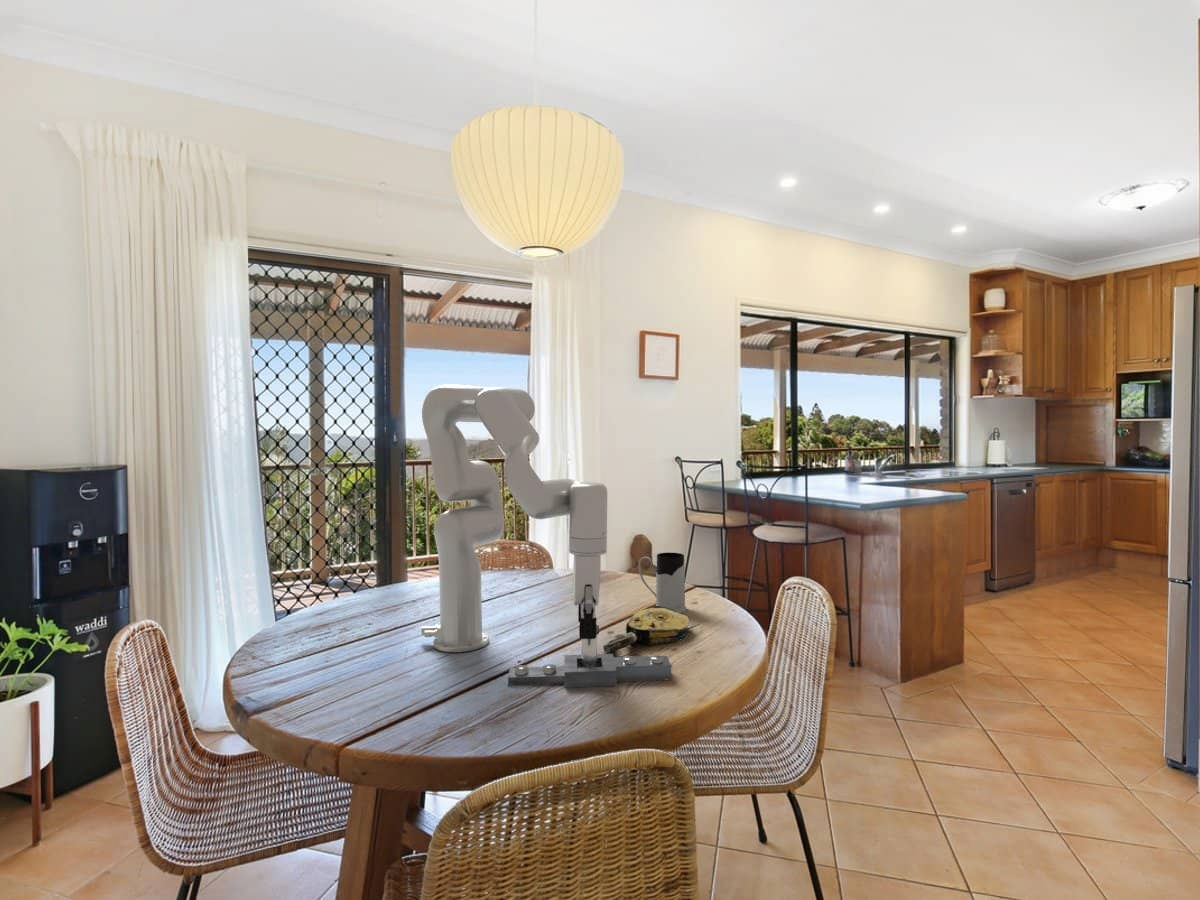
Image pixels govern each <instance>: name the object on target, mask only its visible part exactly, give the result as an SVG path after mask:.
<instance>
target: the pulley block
mask: <svg viewBox="0 0 1200 900" xmlns="http://www.w3.org/2000/svg"><path fill="white" fill-rule="evenodd" d="M690 623H691V622H690V619H689V617H688V616H687V615H685V614H682V613H677V611H675V610H672V609H669V608H666V607H662V606H656V605H654V606H653V607H652V608H644V609H641V610H639V611H637V612H636V611H635V612H634V613H633V615H632V616H631V617H630V618H629V620H628V621H627V622H626V625H625V634H623V635H621V636H619V637H616V638H614V639H611V640H609V641H608V642H606V643H604V644H603V652H604V653H605V652H606V653H607V654H611V653H612V652H613V653H614V652H615V651H618V650H622V649H625V648H627V647H629V646H633V647H646V646H647V647H648V646H653V645H660V644H661V645H663V643H664V644H670V642H672V643H677V641H678V642H679V641H681V640H680V639H683V638H685V637H686V636H687V637H688V636H689V631H688V630H691V629H693V628H695V627H697V626H699V625H701V623H698V624H695V625H692V626H690ZM688 626H690V627H688ZM687 637H686V638H687ZM686 638H685V639H686ZM683 640H684V639H683Z"/></svg>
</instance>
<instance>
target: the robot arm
mask: <svg viewBox="0 0 1200 900" xmlns="http://www.w3.org/2000/svg"><path fill="white" fill-rule="evenodd" d="M535 408H536V407H535V403H534V400H533V398H532V396H531V395H530V394H529V393H528V392H526V391H525V390H523V389H520V388H515V387H514V388H513V387H511V388H510V387H503V386H501V387H500V386H493V387H491V386H489V387H488V386H486V387H485V386H476V385H475V386H474V385H465V384H464V385H463V384H443V385H442V384H441V385H439V386H435V387H434V388H432V389H431V390H430V391H429V392H428V393H427V394H426V397H425V398H424V400H423V404H422V408H421V409H422V410H421V418H422V419H421V420H422V425H423V429H424V431H425V432H424V433H425V434H426V438H427V441H428V447H429V453H430V461H431V468H432V475H433V481H434V488H435V489H434V490H435V492H436V495H437V497H438V499H439V500H440V501H442V502H446V503H462V502H463V503H464V502H469V501H470V506H462V507H456V508H451V509H447V510H446V511H444V512H442V513H441V514H440V515H438V516H437V518H436V520H435V522H434V525H433V534H434V540H435V543H436V544H435V545H436V549H437V556H438V573H439V574H438V578H439V582H438V583H439V584H438V585H439V624H435V626H430V625H422V626H421V635H422V636H424V638H431V637H433V638H434V639H433V648H435V649H436V650H438V651H439V652H445V653H464V652H472V651H475V650H478V649H481V648H483V647H485V646H486V645H487V644H488V643H489V641H490V637H489V634H488V633H487V632H484V631H483V616H482V615H483V613H482V612H483V607H482V606H483V603H482V602H483V601H482V599H483V598H482V597H483V596H482V566H481V562H480V559H479V557H478V555H477V553H476V551H475V549H474V548H475V547H479V546H483V545H487V544H492V543H495V542H496V541H498V540H499V539H500V538H501V537H502V535H503V533H504V530H505V515H504V508H503V500H502V494H501V487H500V486H501V485H500V480H499V477H498V474H497V472H496V470H495V468H493V466H492V465H491V464H490V463H488V461H484V460H477V459H476V460H470V457H469V451H468V443H467V440H466V438H465V436H464V434H463V432H462V431H461V430H460V428H459V427H458V426H457V425H456V424H457V423H458V422H460V423H482V424H483V426H484V427H485V429H486V430H487V432H488V433H489V435H490V436H491V437H492V439H493V440H494V441H495V443H496V445H497V447H498V448H499V450H500V451H501V452H502V454H503V455H504V462H503V463H504V464H503V470H504V471H503V472H504V479H505V483H506V487H507V489H508V490H509V492H510V493H511V496H513V498H514V500H515V501H516V503H517V504H518V506H519V507H520V508H521V510H522V511H523V512H524V513H525V514H526V515H527V516H529V517H531V518H532V519H536V520H547V519H552V518H557V517H563V516H568V515H569V517H568V518H569V519H568V520H569V521H568V525H569V527H568V529H569V530H568V532H569V533H568V552H569V554H571V555H573V565H572V568H573V569H572V570H573V571H572V572H573V574H572V599H573V605H574V606H575V607H577V606H578V611H577V613H578V614H577V615H578V618H577V620H578V621H577V622H579V626H580V633H579V632H578V634H579V635H578V636H579V639H581V640H582V639H595V638H596V625H597V617H596V606H598V604H599V603H600V602H599V600H600V598H599V597H600V587H601V565H602V564H601V563H602V561H601V558H602V557H601V556H603V555H605V554H607V553H608V552H607V551H608V549H607V547H608V544H607V543H608V537H607V536H608V487H607V486H606V485H605V484H604V483H600V482H594V481H592V482H589V481H588V482H585V481H584V482H582V481H578V480H576V479H575V480H574V479H571V478H560V479H549V480H548V479H546V480H541V479H540V477H539V476H538V474H537V473H536V471H535V470H534V468H533V466H532V465H531V462H530V461H529V460H530V459H529V456H530V454H531V453H532V452H534V450H535V449H536V448H537V446H538V444H539V442H540V436H539V433H538V432H537V430H536V428H534V426H533V425H532V423H531V421H532V419H533V418H534V416H535V412H536V409H535Z"/></svg>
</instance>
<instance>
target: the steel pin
mask: <svg viewBox="0 0 1200 900" xmlns="http://www.w3.org/2000/svg"><path fill="white" fill-rule="evenodd" d="M579 633H580V625H579V626H578V634H579ZM599 634H600V626H599V624H596V638H595V639H581V655H582V668H589V667H597V654H598V639H597V638H598V637H597V636H598V635H599Z"/></svg>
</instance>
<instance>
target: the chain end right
mask: <svg viewBox="0 0 1200 900" xmlns="http://www.w3.org/2000/svg"><path fill="white" fill-rule="evenodd" d="M563 664H564V665H563V666H564V679H565V680H580V679H612V678H616V683H617V682H618V683H620V682H621V683H622V682H651V681H650V680H658V681H666V680H665V679H671V680H672V664H671V662H670V659H669V658H668V655H656V654H655V655H650V656H646V655H645V656H643V655H642V656H632V655H631V656H629V655H626V656H619V657H618V656H617V657H616V656H615V657H614V654H613V653H601V654H600V653H599V654H598V653H597V665H601V666H602V667H589V668H577V666H582V654H567V655H566V654H565V655H564V663H563Z"/></svg>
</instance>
